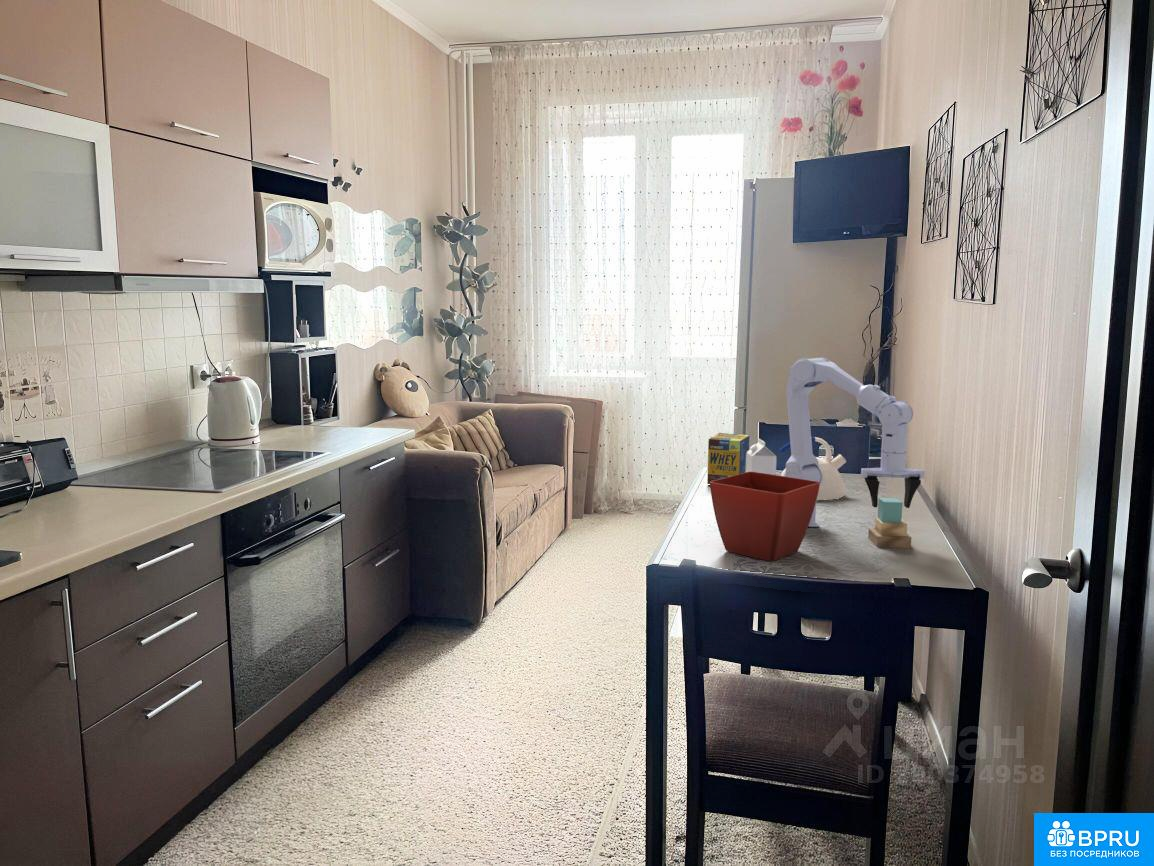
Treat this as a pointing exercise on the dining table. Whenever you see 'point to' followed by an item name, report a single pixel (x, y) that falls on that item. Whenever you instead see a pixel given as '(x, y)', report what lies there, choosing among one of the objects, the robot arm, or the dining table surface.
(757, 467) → the milk carton
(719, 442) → the protein box
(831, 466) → the kettle
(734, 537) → the plant pot
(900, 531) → the oak slab
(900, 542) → the brown square slab
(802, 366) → the robot arm
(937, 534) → the dining table surface
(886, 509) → the teal block
